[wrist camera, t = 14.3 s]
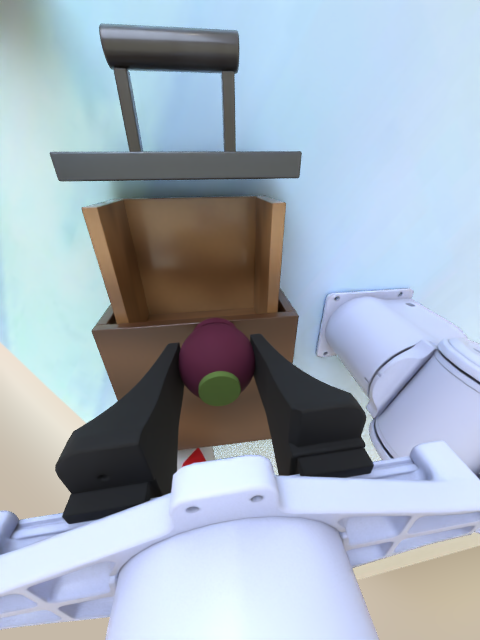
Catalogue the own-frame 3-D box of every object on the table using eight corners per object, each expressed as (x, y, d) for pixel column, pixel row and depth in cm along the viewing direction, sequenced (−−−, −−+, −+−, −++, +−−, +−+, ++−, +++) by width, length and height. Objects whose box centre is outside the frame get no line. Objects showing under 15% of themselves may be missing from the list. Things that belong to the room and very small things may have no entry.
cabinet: (125, 283, 22) (90, 330, 15) (271, 275, 24) (299, 315, 17) (153, 390, 29) (138, 455, 22) (265, 379, 30) (283, 437, 24)
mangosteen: (249, 360, 17) (263, 415, 13) (186, 367, 16) (182, 426, 13) (247, 305, 15) (263, 351, 11) (175, 312, 14) (165, 363, 10)
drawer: (72, 62, 14) (-4, -4, 9) (277, 69, 16) (315, 15, 10) (137, 317, 23) (118, 360, 18) (265, 308, 24) (283, 345, 19)
